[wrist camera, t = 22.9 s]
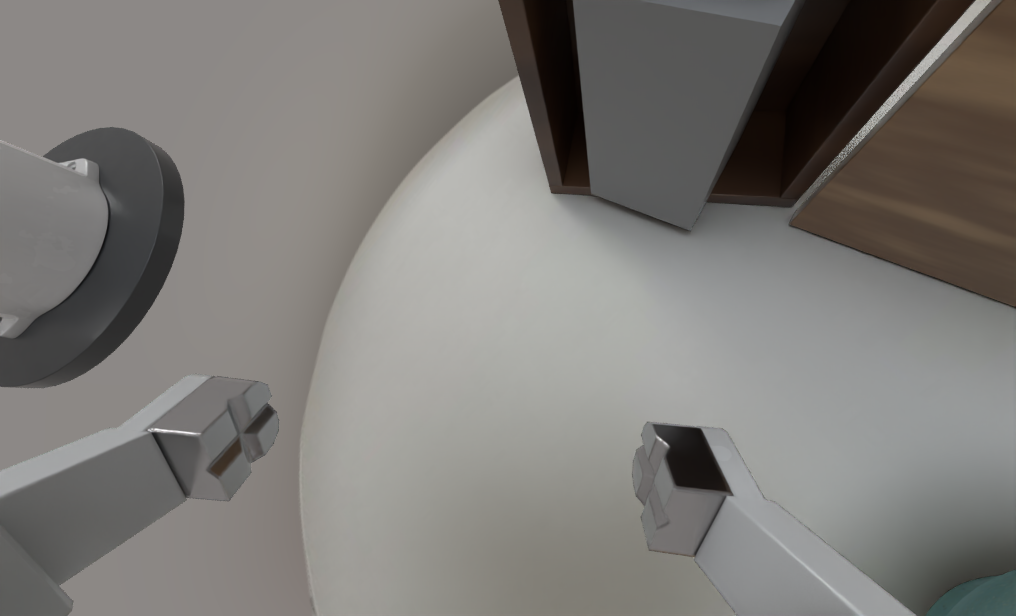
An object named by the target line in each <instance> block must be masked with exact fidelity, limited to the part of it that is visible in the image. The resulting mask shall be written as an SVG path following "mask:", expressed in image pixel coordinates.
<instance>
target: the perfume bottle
mask: <svg viewBox="0 0 1016 616" xmlns="http://www.w3.org/2000/svg"><path fill="white" fill-rule="evenodd" d="M804 2H805V0H573V7H574V17H575V28H576V39H577V49H578V60H579V70H580V81H581V92H582V102H583V113H584V123H585V134H586V144H587V155H588V166H589V176H590V187H591V194H593V195H596V196H599V197H601V198H604V199H607V200H609V201H612V202H615V203H617V204H620V205H623V206H625V207H628V208H631V209H633V210H636V211H639V212H641V213H644V214H647V215H649V216H652V217H655V218H657V219H660V220H662V221H665V222H668V223H670V224H673V225H676V226H678V227H681V228H684V229H686V230H689V231H691V229H692V227H693V225H694V224H695V222H696V220H697V218H698V216H699V214H700V212H701V210H702V209H703V207H704V205H705V203H706V201H707V199H708V197H709V196H710V194H711V192H712V190H713V188H714V186H715V184H716V183H717V181H718V179H719V177H720V175H721V173H722V171H723V169H724V168H725V166H726V164H727V162H728V160H729V158H730V156H731V155H732V153H733V151H734V149H735V147H736V145H737V143H738V141H739V139H740V137H741V135H742V133H743V131H744V129H745V127H746V125H747V123H748V120H749V118H750V116H751V114H752V112H753V110H754V108H755V106H756V104H757V101H758V99H759V97H760V95H761V93H762V91H763V89H764V87H765V85H766V83H767V80H768V78H769V76H770V74H771V72H772V70H773V68H774V66H775V64H776V61H777V59H778V57H779V55H780V53H781V51H782V49H783V47H784V45H785V42H786V40H787V38H788V36H789V34H790V32H791V30H792V28H793V26H794V23H795V21H796V19H797V17H798V15H799V13H800V11H801V9H802V7H803V4H804Z"/></svg>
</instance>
